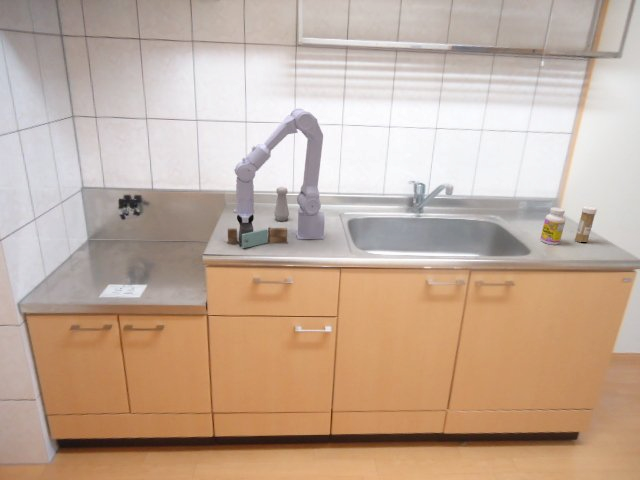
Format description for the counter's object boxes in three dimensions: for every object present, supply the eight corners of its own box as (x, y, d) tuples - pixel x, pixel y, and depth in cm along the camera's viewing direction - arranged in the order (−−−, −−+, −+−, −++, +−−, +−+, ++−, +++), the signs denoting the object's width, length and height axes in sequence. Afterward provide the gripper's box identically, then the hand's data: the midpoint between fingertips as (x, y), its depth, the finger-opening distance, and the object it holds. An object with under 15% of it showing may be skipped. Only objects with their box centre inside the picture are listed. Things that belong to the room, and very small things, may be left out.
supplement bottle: (535, 239, 170) (543, 207, 166) (549, 238, 173) (557, 205, 168) (549, 246, 165) (558, 212, 160) (563, 244, 167) (572, 211, 162)
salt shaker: (290, 217, 181) (290, 186, 176) (287, 222, 176) (288, 190, 171) (275, 216, 182) (276, 185, 177) (272, 221, 176) (273, 189, 172)
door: (266, 241, 156) (266, 228, 154) (268, 243, 154) (268, 230, 153) (241, 247, 150) (241, 234, 148) (244, 249, 149) (244, 235, 147)
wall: (286, 241, 158) (286, 226, 156) (287, 243, 156) (287, 228, 154) (228, 242, 154) (227, 227, 152) (228, 244, 153) (227, 229, 151)
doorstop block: (250, 237, 157) (252, 223, 154) (251, 244, 154) (253, 229, 150) (238, 237, 156) (240, 222, 152) (239, 244, 152) (241, 229, 149)
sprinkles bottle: (587, 244, 168) (597, 210, 163) (573, 241, 170) (583, 207, 165) (587, 240, 172) (597, 207, 167) (574, 238, 174) (583, 204, 169)
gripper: (233, 192, 158) (234, 228, 163) (232, 204, 144) (233, 243, 149) (253, 192, 159) (254, 228, 164) (254, 204, 145) (254, 243, 150)
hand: (245, 235), depth 157 cm, fingers closed
